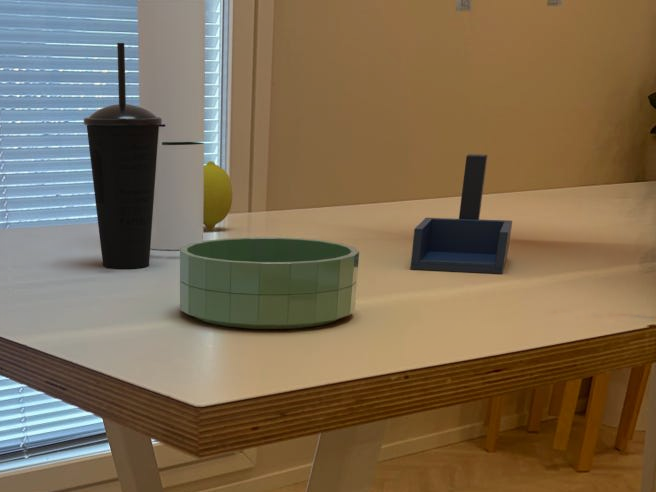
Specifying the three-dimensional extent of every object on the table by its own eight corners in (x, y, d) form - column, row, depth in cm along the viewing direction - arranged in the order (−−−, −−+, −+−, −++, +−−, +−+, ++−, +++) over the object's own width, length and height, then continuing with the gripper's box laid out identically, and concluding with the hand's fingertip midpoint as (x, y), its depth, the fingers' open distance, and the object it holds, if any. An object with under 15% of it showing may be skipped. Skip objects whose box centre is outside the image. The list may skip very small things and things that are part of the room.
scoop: (507, 257, 111) (522, 155, 106) (502, 273, 102) (518, 162, 97) (423, 253, 114) (434, 153, 109) (410, 269, 104) (421, 160, 99)
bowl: (366, 302, 89) (371, 241, 86) (335, 337, 77) (340, 267, 74) (208, 293, 92) (209, 234, 90) (156, 325, 81) (155, 258, 78)
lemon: (215, 226, 135) (216, 159, 131) (240, 230, 131) (241, 161, 127) (180, 229, 132) (180, 160, 129) (204, 233, 128) (205, 163, 125)
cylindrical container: (159, 240, 123) (156, -5, 112) (213, 243, 121) (216, -8, 109) (130, 247, 118) (124, -10, 106) (186, 251, 115) (187, -12, 103)
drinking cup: (155, 271, 103) (152, 41, 93) (81, 269, 104) (71, 42, 94) (169, 260, 110) (167, 43, 100) (99, 258, 111) (91, 44, 101)
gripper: (417, -145, 105) (407, 11, 112) (632, -168, 99) (608, 0, 105) (425, -132, 111) (414, 17, 117) (629, -153, 105) (607, 6, 111)
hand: (508, 9), depth 111 cm, fingers open, 8 cm apart
